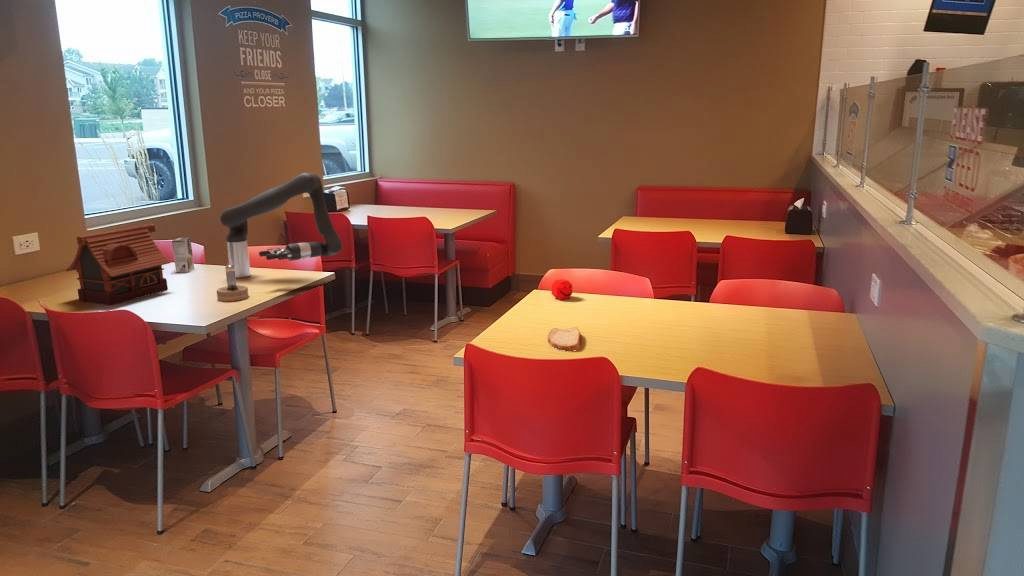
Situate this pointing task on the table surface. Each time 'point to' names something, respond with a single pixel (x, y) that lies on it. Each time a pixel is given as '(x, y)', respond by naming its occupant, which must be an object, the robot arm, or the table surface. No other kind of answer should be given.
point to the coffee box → (183, 254)
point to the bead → (232, 293)
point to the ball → (561, 289)
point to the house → (119, 265)
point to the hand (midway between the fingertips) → (262, 255)
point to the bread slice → (565, 339)
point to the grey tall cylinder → (231, 277)
